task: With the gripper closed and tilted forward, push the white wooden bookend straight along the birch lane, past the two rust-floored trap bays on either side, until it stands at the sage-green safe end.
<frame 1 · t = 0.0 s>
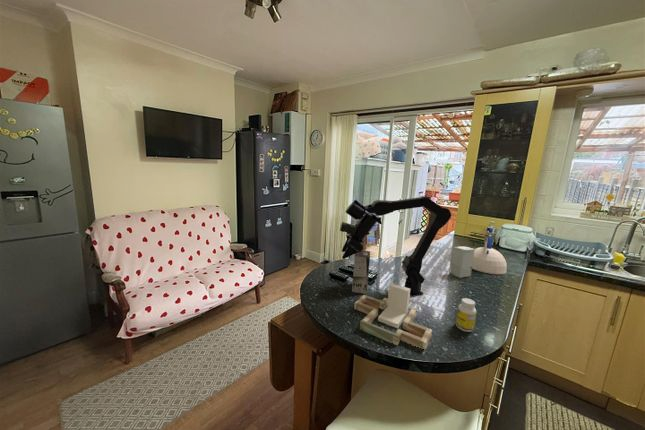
hand: (342, 254, 110), 15 cm above the kitchen counter, tool tilted 35°, fingers open, 9 cm apart
supplement bottle: (464, 328, 87), on the kitchen counter
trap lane: (389, 321, 88), on the kitchen counter
bookend: (393, 317, 91), on the kitchen counter
skincare box: (460, 275, 133), on the kitchen counter
coffee box: (359, 288, 112), on the kitchen counter
pale pink dome: (484, 267, 146), on the kitchen counter
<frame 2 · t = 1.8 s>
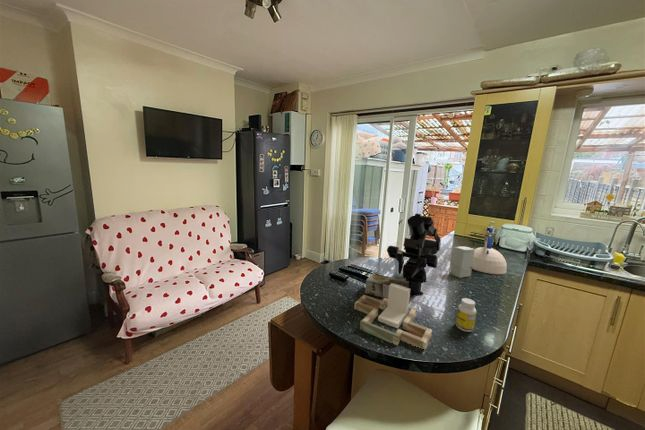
hand: (405, 275, 97), 13 cm above the kitchen counter, tool tilted 45°, fingers open, 4 cm apart
coffee box: (368, 282, 111), point 3 cm above the kitchen counter
everything else where it was.
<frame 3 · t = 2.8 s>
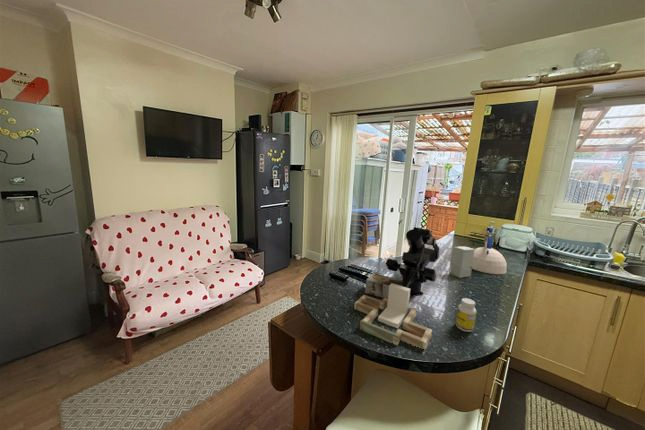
hand: (403, 288, 98), 7 cm above the kitchen counter, tool tilted 45°, fingers closed
nothing on the kitchen counter moved.
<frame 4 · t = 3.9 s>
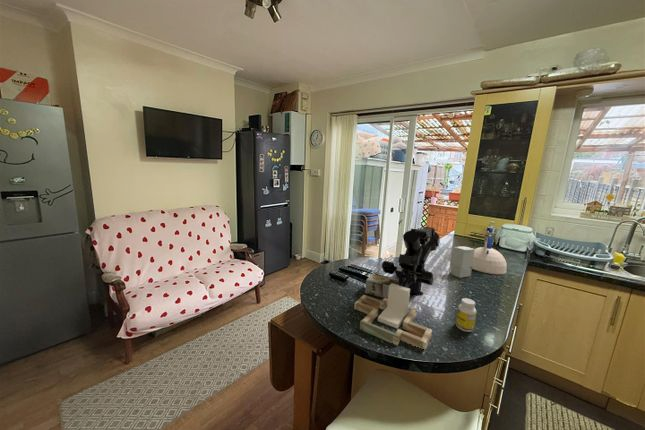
hand: (400, 292, 94), 7 cm above the kitchen counter, tool tilted 45°, fingers closed, pressing on bookend
bookend: (392, 317, 91), on the kitchen counter, touching gripper
everything else where it was.
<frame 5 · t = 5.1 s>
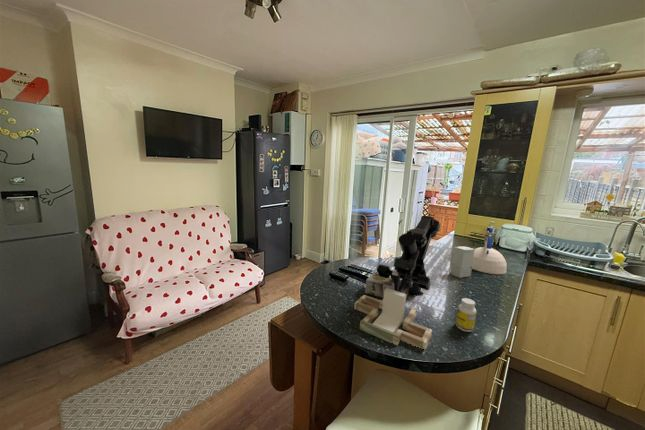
hand: (395, 297, 90), 7 cm above the kitchen counter, tool tilted 45°, fingers closed, pressing on bookend
bookend: (388, 324, 87), on the kitchen counter, touching gripper
everything else where it was.
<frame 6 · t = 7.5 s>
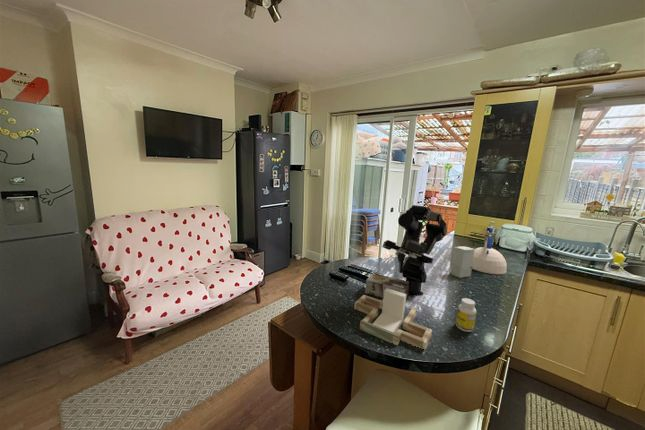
hand: (400, 272, 99), 13 cm above the kitchen counter, tool tilted 25°, fingers closed
bookend: (388, 324, 87), on the kitchen counter
everything else where it was.
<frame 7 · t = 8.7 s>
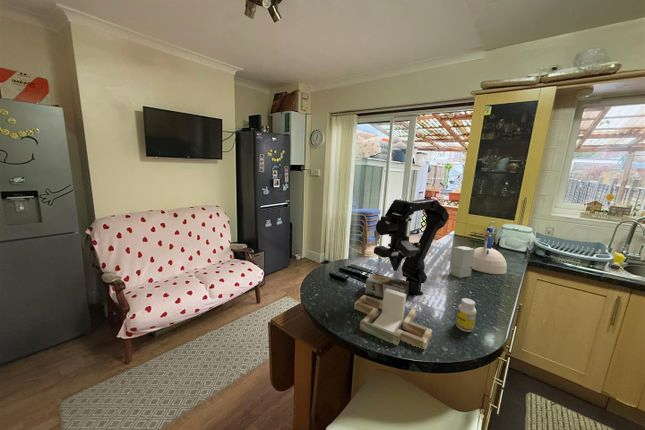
hand: (395, 270, 101), 12 cm above the kitchen counter, tool pointing down, fingers closed
nothing on the kitchen counter moved.
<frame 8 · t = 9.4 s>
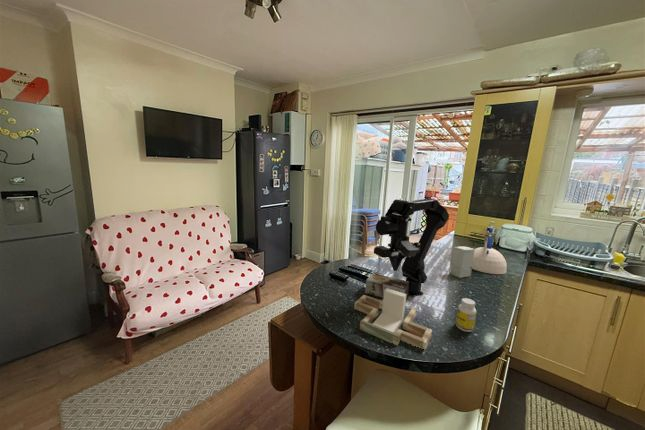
hand: (395, 270, 101), 12 cm above the kitchen counter, tool pointing down, fingers closed
nothing on the kitchen counter moved.
at the end: bookend inside the target area (2.1 cm from its centre), on the kitchen counter; bookend tilted 0°; bookend moved 5.2 cm from its start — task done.
